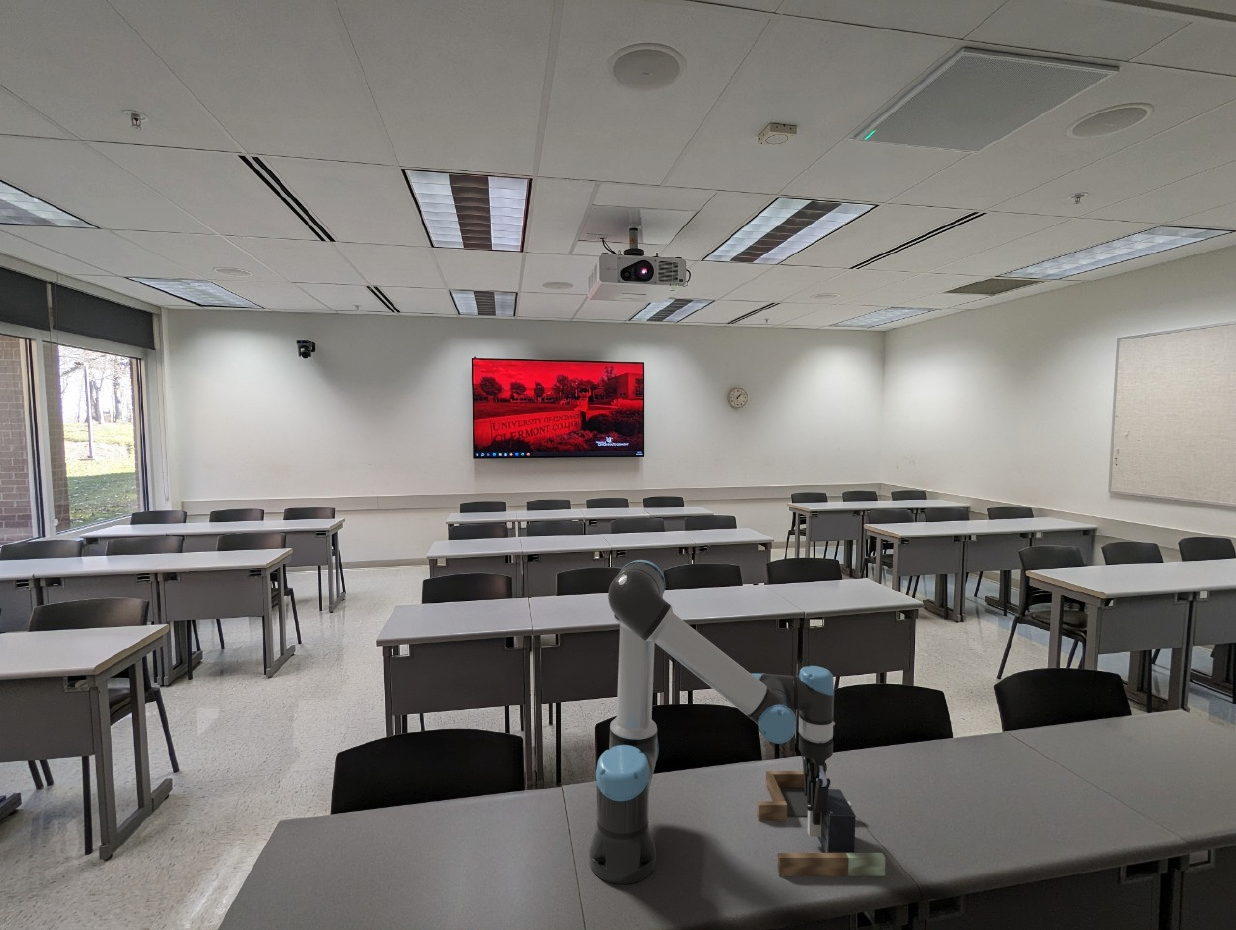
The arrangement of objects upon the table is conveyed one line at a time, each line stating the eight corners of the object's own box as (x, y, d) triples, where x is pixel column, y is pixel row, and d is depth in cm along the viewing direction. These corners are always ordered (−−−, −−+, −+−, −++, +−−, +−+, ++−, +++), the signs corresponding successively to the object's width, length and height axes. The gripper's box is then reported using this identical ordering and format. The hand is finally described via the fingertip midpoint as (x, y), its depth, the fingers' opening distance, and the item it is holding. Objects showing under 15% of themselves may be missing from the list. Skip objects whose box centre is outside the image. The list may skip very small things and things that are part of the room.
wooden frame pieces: (779, 875, 129) (779, 857, 129) (745, 785, 162) (745, 771, 162) (885, 875, 129) (885, 857, 129) (829, 785, 163) (829, 771, 162)
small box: (856, 861, 134) (857, 815, 133) (827, 860, 134) (828, 815, 133) (840, 830, 144) (841, 788, 144) (813, 829, 144) (814, 787, 144)
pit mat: (785, 816, 149) (785, 815, 149) (772, 788, 161) (772, 787, 161) (821, 816, 149) (821, 815, 149) (805, 788, 161) (805, 787, 161)
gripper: (842, 750, 131) (840, 853, 132) (822, 722, 144) (820, 816, 145) (808, 750, 131) (807, 853, 132) (791, 722, 144) (790, 816, 145)
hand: (814, 834), depth 139 cm, fingers closed
